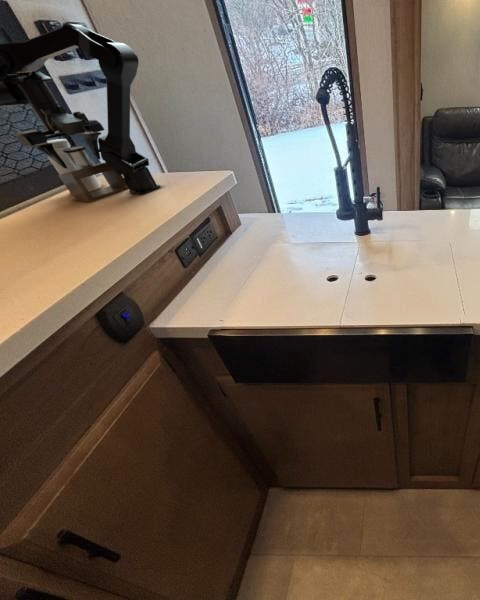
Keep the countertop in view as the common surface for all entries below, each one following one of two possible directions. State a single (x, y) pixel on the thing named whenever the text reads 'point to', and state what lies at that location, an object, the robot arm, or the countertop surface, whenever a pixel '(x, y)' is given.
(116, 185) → the frame
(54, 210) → the countertop surface
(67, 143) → the pill bottle
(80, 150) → the spice tin
